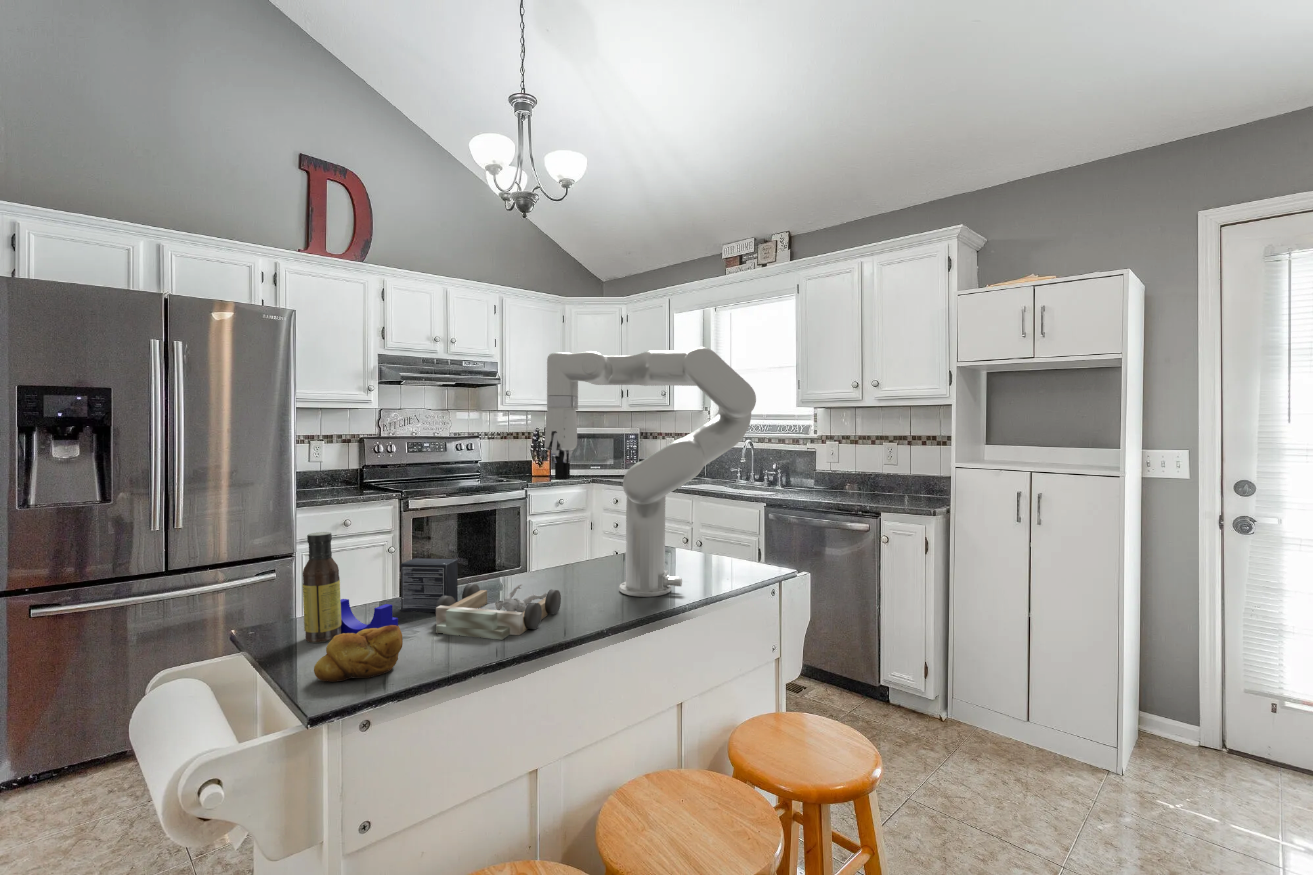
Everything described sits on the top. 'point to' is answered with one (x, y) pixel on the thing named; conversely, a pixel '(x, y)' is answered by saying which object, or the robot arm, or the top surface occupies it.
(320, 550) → the sauce bottle
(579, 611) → the top surface
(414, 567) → the small box
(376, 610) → the blue cradle block
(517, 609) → the soldier figure
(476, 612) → the chassis
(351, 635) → the bread roll
